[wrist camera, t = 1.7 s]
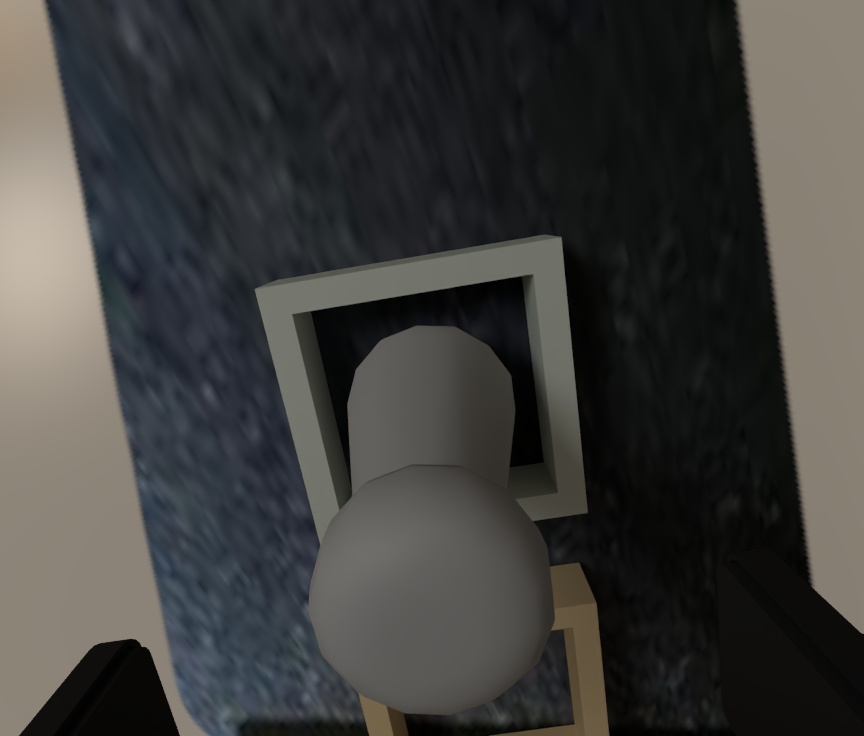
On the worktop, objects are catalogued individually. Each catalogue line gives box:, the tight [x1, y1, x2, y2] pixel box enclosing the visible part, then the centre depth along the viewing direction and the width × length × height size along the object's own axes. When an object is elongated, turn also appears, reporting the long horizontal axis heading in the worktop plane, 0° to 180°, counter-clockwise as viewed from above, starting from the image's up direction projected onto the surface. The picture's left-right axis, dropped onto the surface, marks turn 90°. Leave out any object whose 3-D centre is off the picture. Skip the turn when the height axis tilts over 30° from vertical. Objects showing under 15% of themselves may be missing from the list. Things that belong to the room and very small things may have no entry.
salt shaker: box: [308, 326, 555, 715], centre depth 15 cm, size 6×6×13 cm
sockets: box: [255, 235, 609, 736], centre depth 22 cm, size 24×10×2 cm, turn 9°
